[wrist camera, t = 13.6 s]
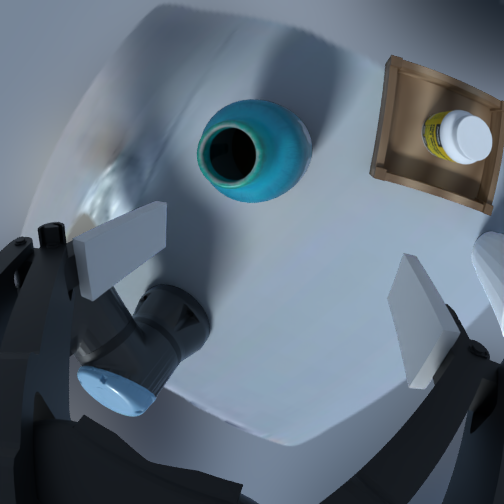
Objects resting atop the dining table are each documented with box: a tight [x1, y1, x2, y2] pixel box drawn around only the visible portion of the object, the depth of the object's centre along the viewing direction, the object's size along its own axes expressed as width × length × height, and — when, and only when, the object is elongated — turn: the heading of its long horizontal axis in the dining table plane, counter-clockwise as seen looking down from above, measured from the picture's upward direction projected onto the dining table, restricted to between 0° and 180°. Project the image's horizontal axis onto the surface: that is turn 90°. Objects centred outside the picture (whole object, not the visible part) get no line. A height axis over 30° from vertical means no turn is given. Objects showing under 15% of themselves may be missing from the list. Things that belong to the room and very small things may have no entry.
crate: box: [369, 55, 504, 216], centre depth 28 cm, size 18×16×5 cm
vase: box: [197, 99, 312, 203], centre depth 29 cm, size 11×11×19 cm
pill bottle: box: [421, 110, 492, 164], centre depth 25 cm, size 6×6×11 cm
